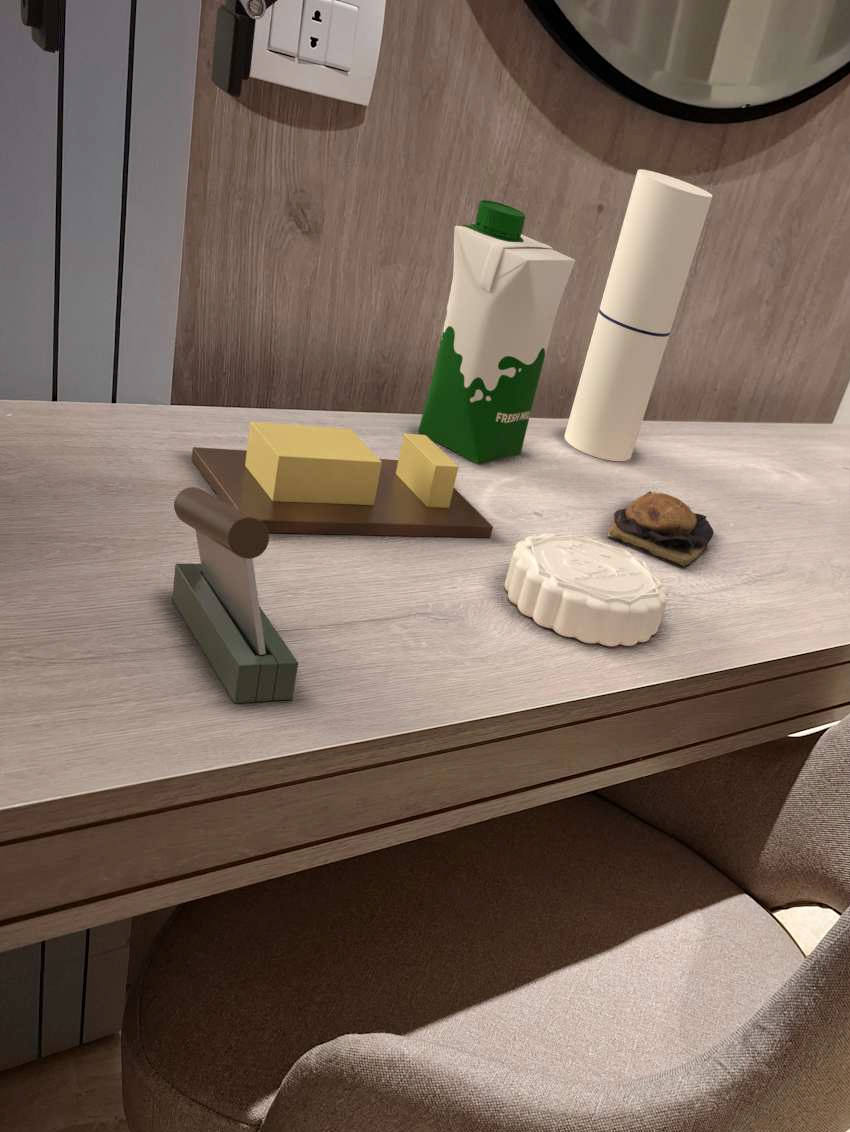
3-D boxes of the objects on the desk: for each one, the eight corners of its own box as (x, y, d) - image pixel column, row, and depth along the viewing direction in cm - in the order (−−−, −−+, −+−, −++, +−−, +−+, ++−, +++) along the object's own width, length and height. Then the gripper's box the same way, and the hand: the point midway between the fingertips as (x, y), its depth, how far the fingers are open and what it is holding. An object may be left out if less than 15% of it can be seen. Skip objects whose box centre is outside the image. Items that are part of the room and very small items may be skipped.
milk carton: (460, 419, 115) (509, 200, 104) (534, 457, 113) (593, 237, 102) (403, 429, 108) (449, 196, 97) (481, 470, 106) (537, 235, 95)
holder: (234, 703, 66) (239, 665, 64) (171, 599, 73) (175, 562, 71) (293, 700, 68) (299, 662, 66) (226, 598, 75) (230, 563, 73)
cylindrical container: (555, 441, 118) (628, 170, 105) (576, 426, 124) (649, 168, 111) (620, 467, 118) (703, 198, 104) (639, 450, 124) (719, 194, 110)
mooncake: (590, 563, 96) (603, 523, 94) (688, 639, 90) (703, 597, 88) (472, 573, 88) (483, 529, 86) (570, 656, 82) (584, 611, 80)
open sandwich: (688, 573, 101) (702, 534, 99) (598, 535, 102) (611, 495, 100) (717, 538, 110) (731, 501, 108) (634, 503, 110) (646, 466, 108)
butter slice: (426, 507, 93) (436, 465, 91) (395, 474, 97) (403, 433, 95) (449, 508, 94) (458, 466, 92) (417, 475, 98) (425, 434, 96)
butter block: (272, 501, 86) (278, 455, 84) (244, 465, 89) (250, 421, 87) (374, 505, 90) (382, 462, 88) (343, 471, 94) (350, 428, 92)
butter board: (244, 532, 83) (245, 519, 82) (191, 459, 90) (192, 446, 89) (490, 537, 94) (493, 526, 94) (426, 472, 102) (428, 461, 101)
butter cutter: (246, 661, 65) (225, 519, 61) (192, 617, 72) (170, 489, 69) (284, 653, 66) (266, 514, 63) (227, 611, 73) (208, 485, 70)
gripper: (307, -267, 63) (267, 91, 73) (-58, -427, 53) (-50, 12, 63) (363, -258, 59) (312, 122, 68) (-25, -430, 49) (-22, 43, 58)
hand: (139, 69), depth 65 cm, fingers open, 9 cm apart
